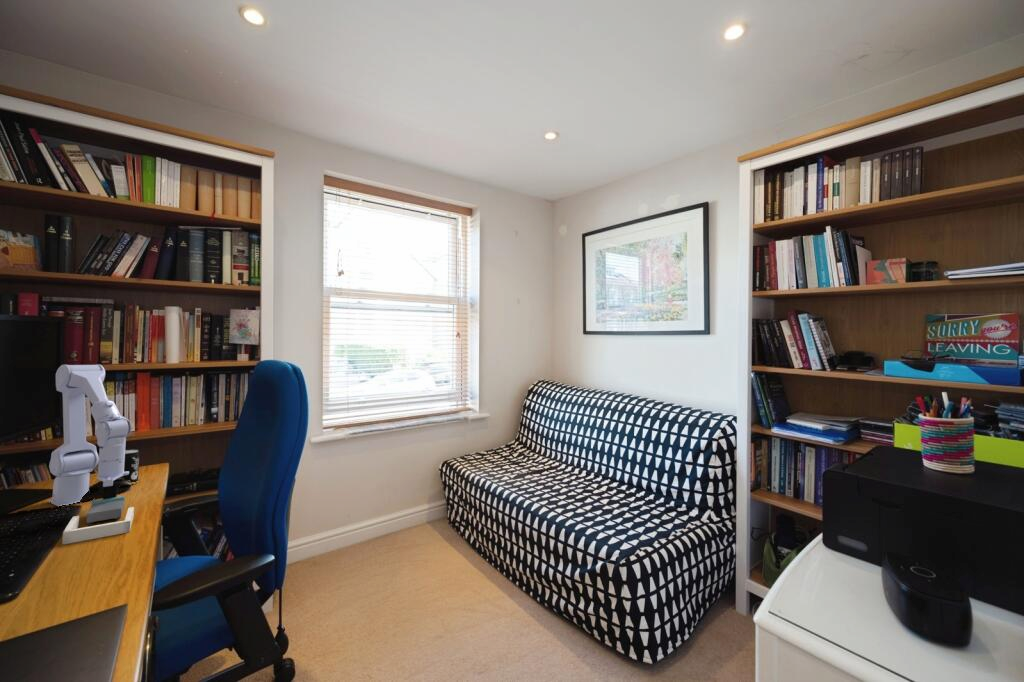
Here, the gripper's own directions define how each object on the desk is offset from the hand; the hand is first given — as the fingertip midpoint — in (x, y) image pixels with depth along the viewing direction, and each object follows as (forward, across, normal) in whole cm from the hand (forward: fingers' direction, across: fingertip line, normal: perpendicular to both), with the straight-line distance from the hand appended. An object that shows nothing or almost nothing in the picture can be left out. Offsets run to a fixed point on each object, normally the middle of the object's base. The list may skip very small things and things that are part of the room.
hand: (109, 504), depth 125 cm
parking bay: (+2, -17, 0) cm, 17 cm away
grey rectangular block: (+2, -6, 0) cm, 6 cm away
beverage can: (+2, +30, -2) cm, 30 cm away
